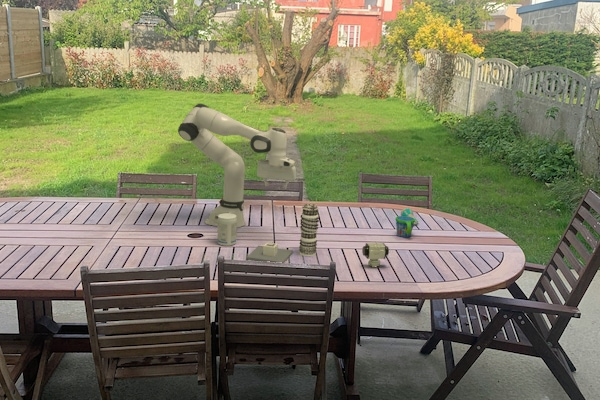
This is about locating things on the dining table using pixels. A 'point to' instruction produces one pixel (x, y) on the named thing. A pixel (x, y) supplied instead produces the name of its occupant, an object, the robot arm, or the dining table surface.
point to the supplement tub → (227, 229)
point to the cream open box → (270, 249)
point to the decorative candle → (309, 230)
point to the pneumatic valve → (375, 253)
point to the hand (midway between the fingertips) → (275, 187)
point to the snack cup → (404, 225)
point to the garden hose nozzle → (408, 214)
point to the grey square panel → (279, 257)
